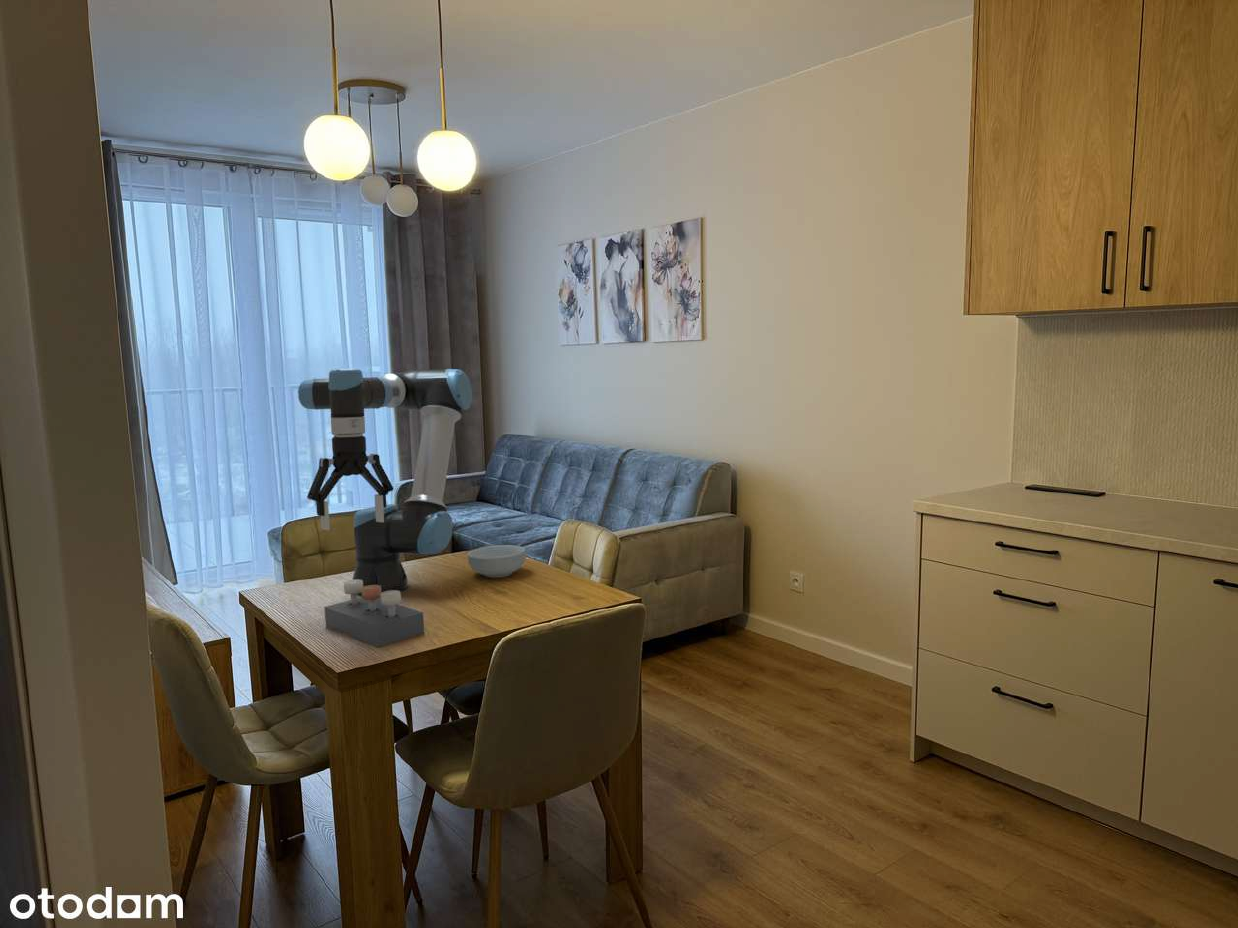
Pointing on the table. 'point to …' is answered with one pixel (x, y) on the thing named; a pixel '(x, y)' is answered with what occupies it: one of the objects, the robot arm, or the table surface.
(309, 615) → the table surface
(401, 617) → the knob panel
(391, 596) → the cream knob
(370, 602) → the rust knob middle
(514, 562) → the cereal bowl
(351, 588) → the cream knob
